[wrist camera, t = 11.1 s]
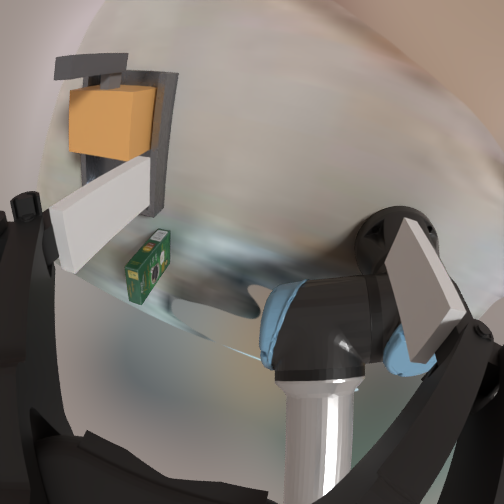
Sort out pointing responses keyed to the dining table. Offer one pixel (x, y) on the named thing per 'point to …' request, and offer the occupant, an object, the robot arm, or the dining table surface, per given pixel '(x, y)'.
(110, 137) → the grey and orange block
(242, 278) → the dining table surface
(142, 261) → the coffee box
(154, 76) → the bay
